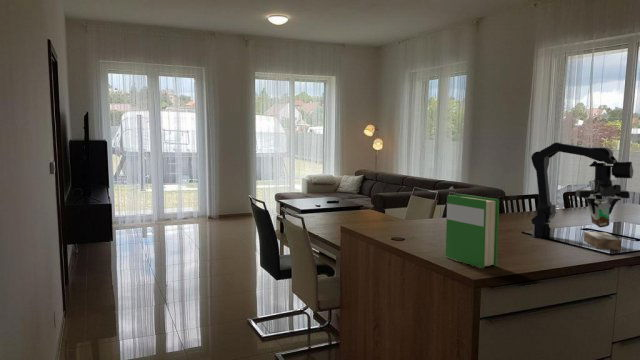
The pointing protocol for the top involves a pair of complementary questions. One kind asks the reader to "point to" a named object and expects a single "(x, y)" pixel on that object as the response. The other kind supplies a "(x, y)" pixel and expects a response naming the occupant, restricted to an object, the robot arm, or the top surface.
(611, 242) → the base board
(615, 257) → the top surface
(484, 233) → the hardback book
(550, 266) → the top surface
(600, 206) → the food container
